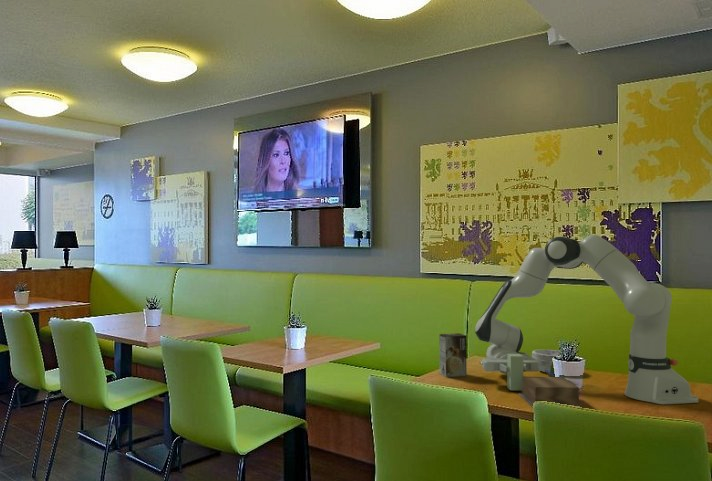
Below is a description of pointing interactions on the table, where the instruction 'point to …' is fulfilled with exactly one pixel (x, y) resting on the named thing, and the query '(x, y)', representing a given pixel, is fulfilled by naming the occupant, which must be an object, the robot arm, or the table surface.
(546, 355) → the paper bowls
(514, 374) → the pillar
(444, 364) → the coffee box
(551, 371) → the geometric puzzle
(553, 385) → the base
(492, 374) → the table surface
